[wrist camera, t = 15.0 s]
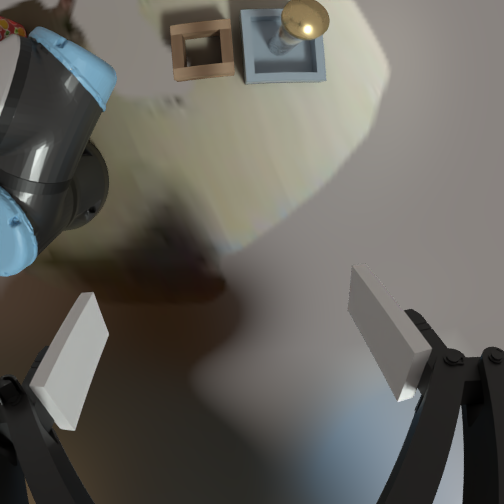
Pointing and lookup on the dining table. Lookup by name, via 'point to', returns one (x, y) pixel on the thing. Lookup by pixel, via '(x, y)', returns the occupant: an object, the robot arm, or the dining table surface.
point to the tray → (269, 65)
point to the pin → (298, 25)
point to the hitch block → (199, 31)
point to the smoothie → (10, 28)
